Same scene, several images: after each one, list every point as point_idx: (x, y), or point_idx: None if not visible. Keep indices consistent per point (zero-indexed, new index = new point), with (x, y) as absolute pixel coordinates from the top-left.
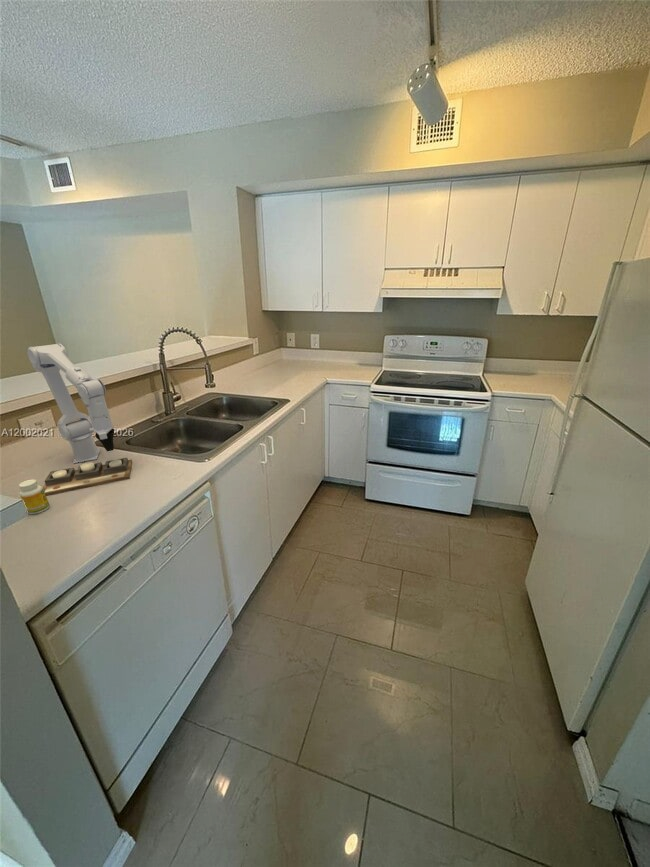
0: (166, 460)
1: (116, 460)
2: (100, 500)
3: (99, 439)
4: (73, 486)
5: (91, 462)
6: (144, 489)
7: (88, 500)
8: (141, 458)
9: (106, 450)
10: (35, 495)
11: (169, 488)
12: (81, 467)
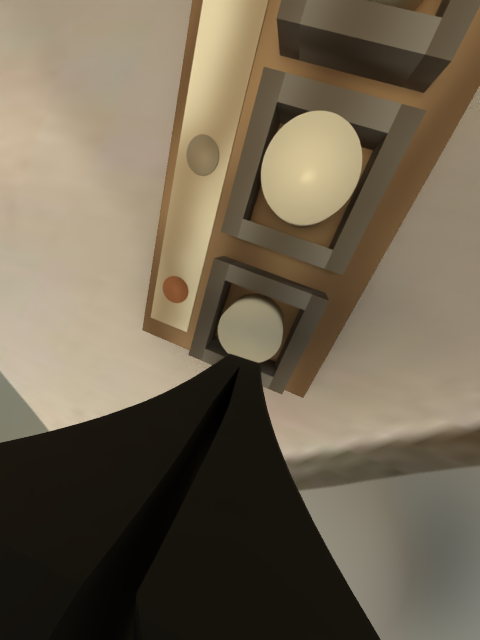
0: None
1: (269, 347)
2: (42, 194)
3: (42, 445)
4: (190, 71)
5: (325, 211)
6: (55, 333)
7: (59, 148)
8: (304, 423)
9: (227, 356)
10: None
11: (35, 379)
12: (289, 121)
